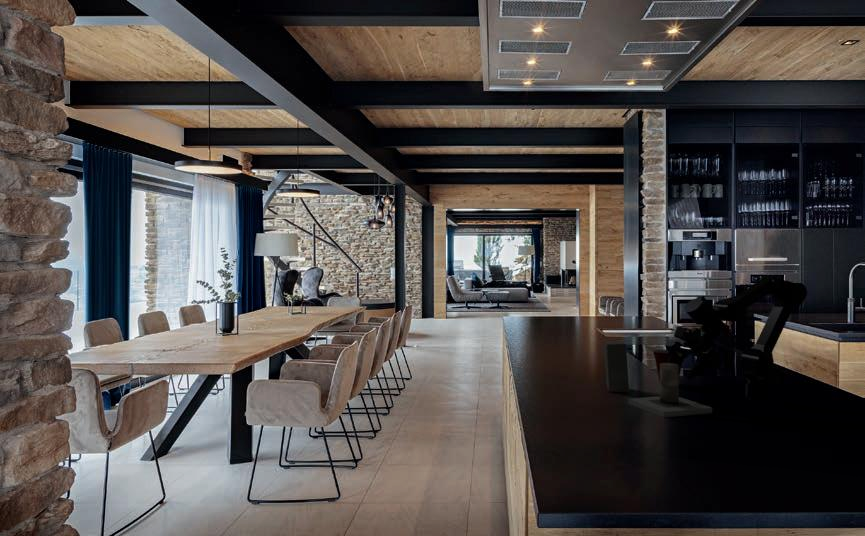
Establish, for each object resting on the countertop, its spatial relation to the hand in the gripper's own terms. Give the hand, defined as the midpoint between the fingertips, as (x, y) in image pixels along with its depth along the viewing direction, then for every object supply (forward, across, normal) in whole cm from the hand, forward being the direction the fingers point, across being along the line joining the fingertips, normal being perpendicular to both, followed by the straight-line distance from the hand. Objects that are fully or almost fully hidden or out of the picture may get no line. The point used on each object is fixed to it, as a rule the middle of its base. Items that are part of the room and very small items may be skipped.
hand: (676, 375), depth 170 cm
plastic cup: (-7, -28, +21) cm, 36 cm away
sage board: (+8, 0, +5) cm, 10 cm away
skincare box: (+9, -26, +5) cm, 28 cm away
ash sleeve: (+7, 0, +4) cm, 8 cm away
